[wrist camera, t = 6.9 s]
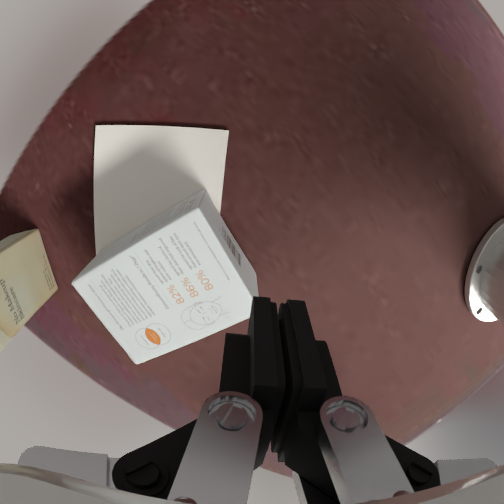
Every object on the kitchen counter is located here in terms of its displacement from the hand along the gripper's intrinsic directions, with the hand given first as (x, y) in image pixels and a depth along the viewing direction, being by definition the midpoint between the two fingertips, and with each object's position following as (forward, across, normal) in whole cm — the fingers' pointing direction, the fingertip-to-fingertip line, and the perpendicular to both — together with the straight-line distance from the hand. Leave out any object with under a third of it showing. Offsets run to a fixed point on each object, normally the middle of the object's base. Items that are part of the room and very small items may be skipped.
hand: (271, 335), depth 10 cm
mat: (+14, +8, 0) cm, 16 cm away
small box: (+11, +2, +1) cm, 11 cm away
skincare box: (+14, +20, +6) cm, 25 cm away
